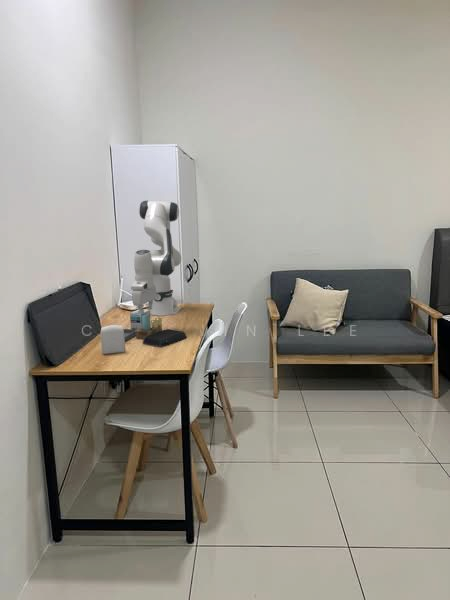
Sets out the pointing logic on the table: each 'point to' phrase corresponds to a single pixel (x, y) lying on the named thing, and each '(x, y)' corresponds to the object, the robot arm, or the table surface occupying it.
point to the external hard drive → (164, 338)
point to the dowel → (146, 322)
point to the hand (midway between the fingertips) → (145, 311)
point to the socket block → (144, 333)
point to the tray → (129, 334)
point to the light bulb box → (138, 319)
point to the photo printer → (112, 339)
